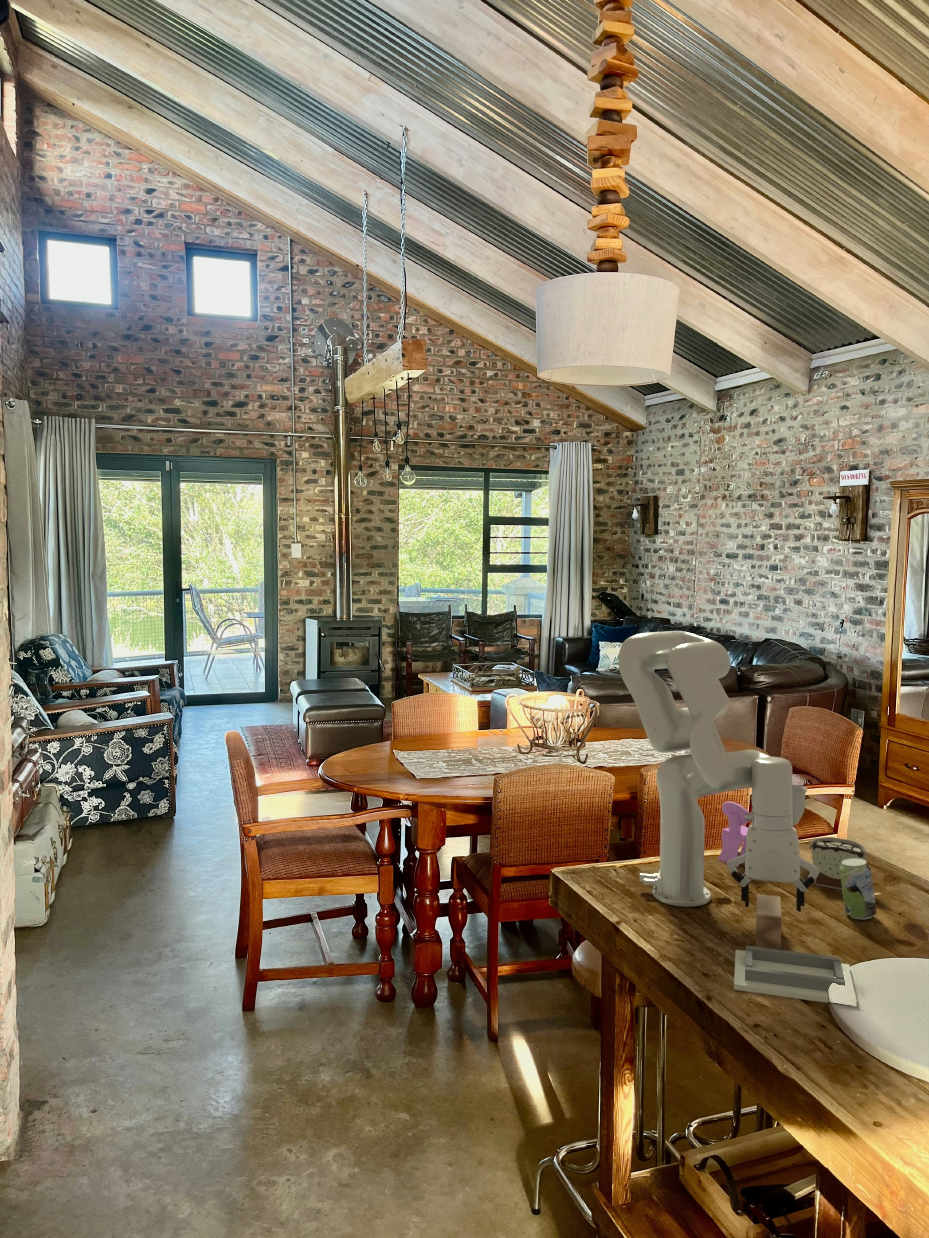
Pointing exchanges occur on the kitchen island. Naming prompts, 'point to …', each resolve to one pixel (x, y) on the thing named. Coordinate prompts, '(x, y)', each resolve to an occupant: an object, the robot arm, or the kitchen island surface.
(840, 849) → the food container
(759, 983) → the pocket board
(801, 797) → the chalice
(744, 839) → the toy chair
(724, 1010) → the kitchen island surface
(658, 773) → the robot arm
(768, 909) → the key block
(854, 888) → the beverage can
